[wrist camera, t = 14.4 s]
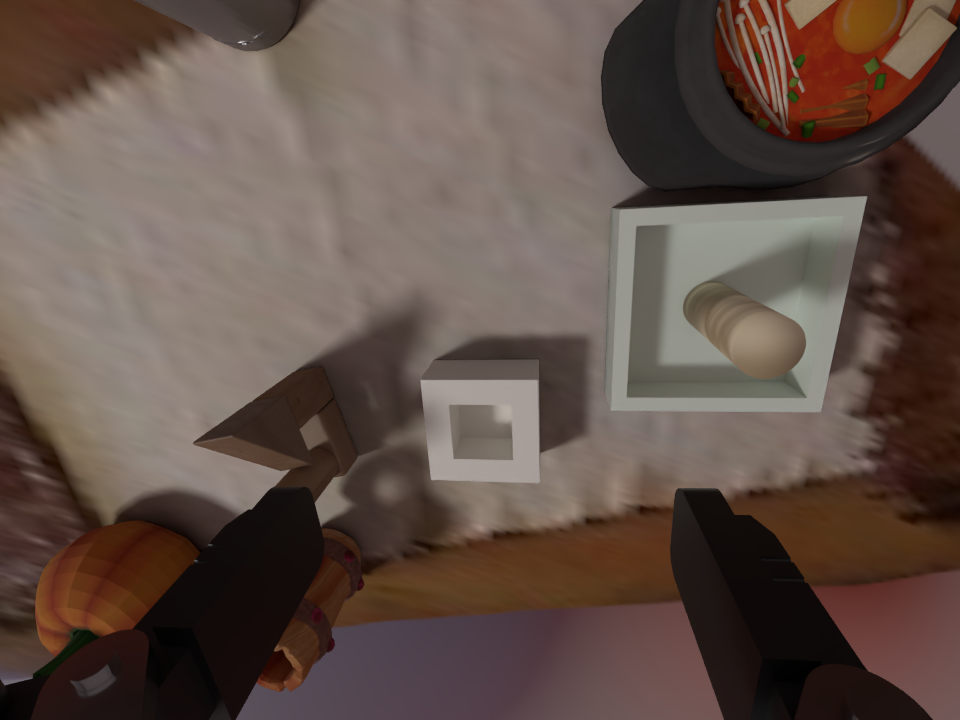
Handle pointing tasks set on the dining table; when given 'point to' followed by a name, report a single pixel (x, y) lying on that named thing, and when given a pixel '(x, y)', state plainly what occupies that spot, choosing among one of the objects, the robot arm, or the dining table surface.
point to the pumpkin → (105, 584)
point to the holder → (483, 420)
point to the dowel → (745, 330)
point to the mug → (315, 614)
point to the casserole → (772, 86)
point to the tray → (741, 266)
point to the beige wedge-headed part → (290, 432)
